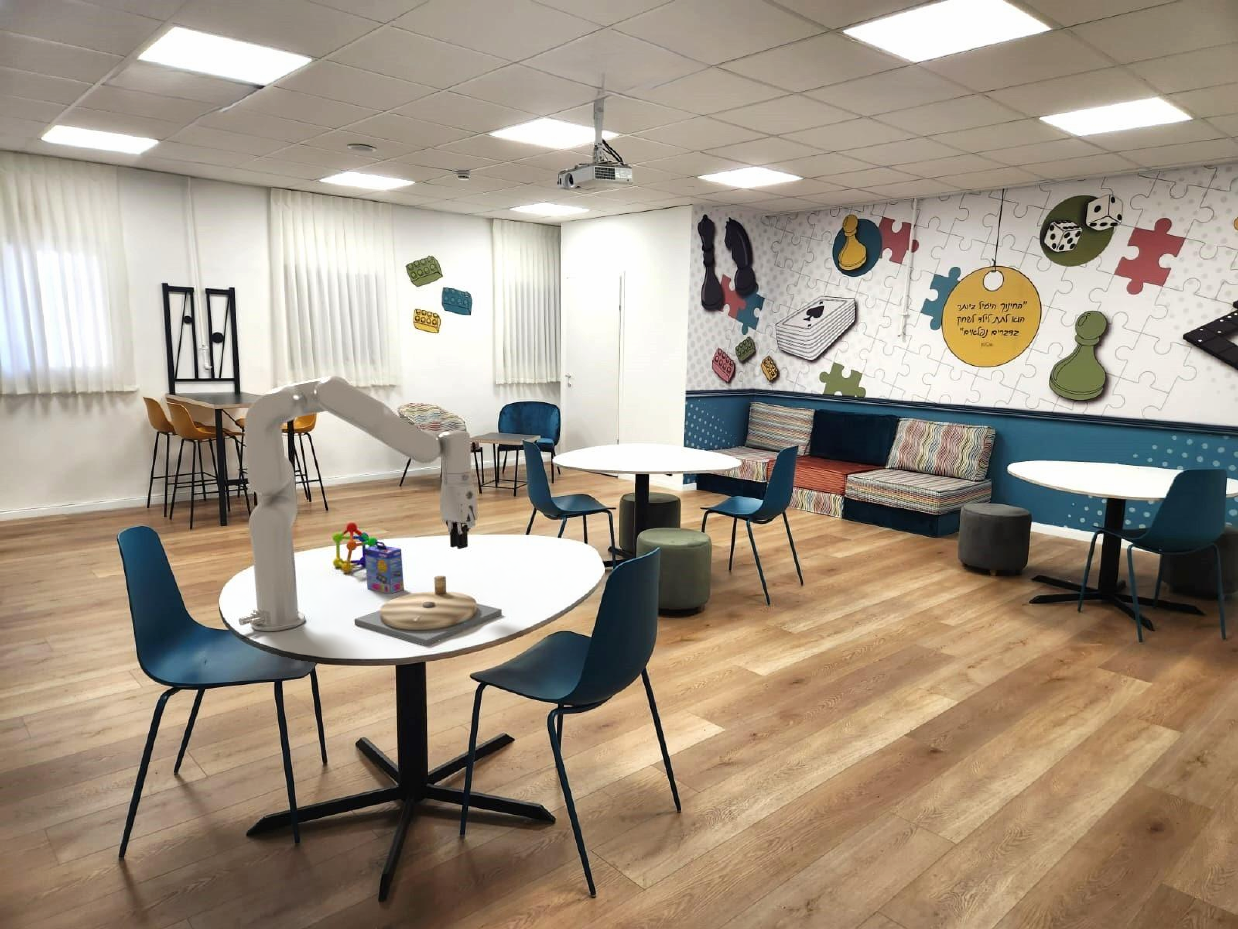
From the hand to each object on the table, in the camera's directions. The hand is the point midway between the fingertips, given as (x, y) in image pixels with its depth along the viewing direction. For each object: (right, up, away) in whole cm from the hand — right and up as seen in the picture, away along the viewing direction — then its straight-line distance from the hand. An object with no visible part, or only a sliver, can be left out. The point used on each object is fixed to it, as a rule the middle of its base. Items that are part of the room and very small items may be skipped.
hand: (459, 546), depth 214 cm
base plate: (-7, -18, -5) cm, 20 cm away
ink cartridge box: (-25, -15, +20) cm, 36 cm away
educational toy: (-41, -11, +43) cm, 60 cm away
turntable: (-7, -16, -6) cm, 19 cm away
